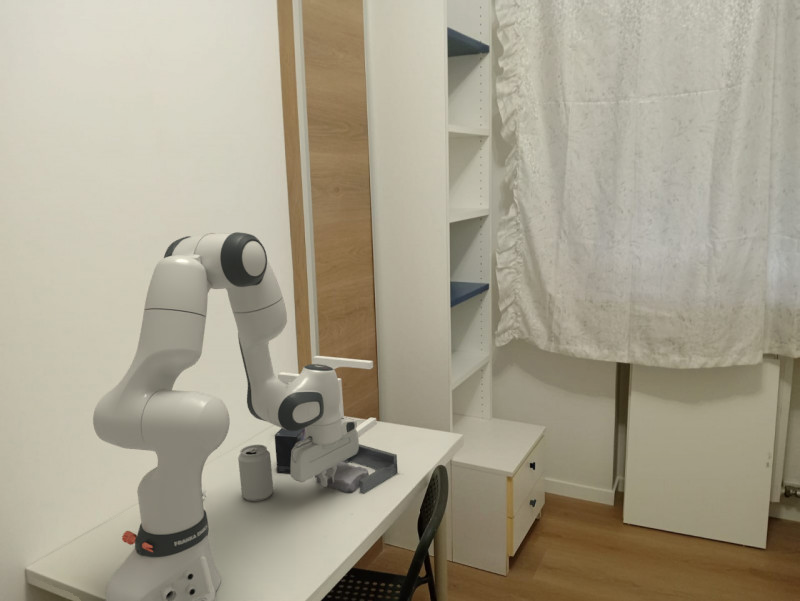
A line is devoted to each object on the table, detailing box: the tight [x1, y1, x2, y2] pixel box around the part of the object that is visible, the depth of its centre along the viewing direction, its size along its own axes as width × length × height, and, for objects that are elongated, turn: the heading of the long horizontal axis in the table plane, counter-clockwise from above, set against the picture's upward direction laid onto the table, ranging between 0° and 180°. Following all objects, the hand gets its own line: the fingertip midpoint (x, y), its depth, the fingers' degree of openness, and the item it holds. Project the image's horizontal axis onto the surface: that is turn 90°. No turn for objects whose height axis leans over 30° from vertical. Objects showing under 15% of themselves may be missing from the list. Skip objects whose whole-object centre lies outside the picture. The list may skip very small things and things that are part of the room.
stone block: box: [315, 462, 370, 494], centre depth 170 cm, size 12×5×10 cm
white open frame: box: [277, 355, 377, 439], centre depth 200 cm, size 20×20×20 cm
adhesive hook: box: [202, 489, 207, 501], centre depth 164 cm, size 3×3×3 cm
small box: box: [274, 428, 305, 474], centre depth 180 cm, size 11×6×10 cm, turn 168°
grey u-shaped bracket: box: [314, 443, 398, 494], centre depth 172 cm, size 13×16×5 cm
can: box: [237, 444, 274, 502], centre depth 163 cm, size 8×8×12 cm
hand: (327, 484), depth 165 cm, fingers closed
